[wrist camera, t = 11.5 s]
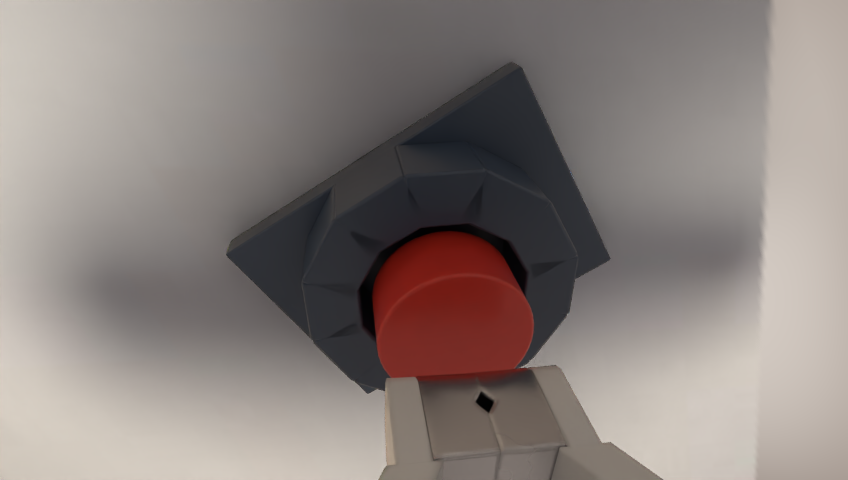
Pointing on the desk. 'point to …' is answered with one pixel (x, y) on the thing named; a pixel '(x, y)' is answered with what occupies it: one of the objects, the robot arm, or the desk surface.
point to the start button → (449, 308)
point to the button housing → (429, 220)
